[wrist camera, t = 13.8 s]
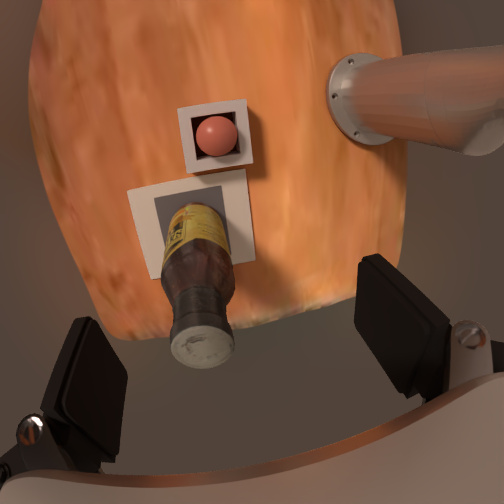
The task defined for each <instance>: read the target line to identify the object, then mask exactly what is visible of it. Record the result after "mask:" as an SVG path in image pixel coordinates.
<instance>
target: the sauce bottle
mask: <svg viewBox="0 0 504 504" xmlns="http://www.w3.org/2000/svg"><path fill="white" fill-rule="evenodd" d="M161 284H162V287H163V289H164V291H165V293H166V295H167V297H168V299H169V302H170V304H171V306H172V308H173V309H172V311H173V314H174V316H173V318H174V319H173V326H172V328H171V331H170V348H171V351H172V354H173V355H174V357H175V358H176V359H177V360H178V361H179V362H181V363H183V364H184V365H187V366H189V367H192V368H198V369H200V368H202V369H205V368H211V367H215V366H218V365H220V364H223V363H224V362H225V361H227V360H228V359H229V358H230V356H231V355H232V353H233V351H234V344H235V343H234V337H233V333H232V329H231V327H230V325H229V323H228V321H227V315H226V305H227V304H228V303H229V302H230V300H231V298H232V296H233V294H234V290H235V278H234V273H233V265H232V260H231V256H230V252H229V248H228V244H227V240H226V235H225V231H224V228H223V224H222V221H221V218H220V217H219V215H218V214H217V212H216V210H215V209H214V208H212V207H211V206H209V205H207V204H205V203H201V202H191V203H188V204H185V205H184V206H182V207H180V208H179V209H178V211H177V212H176V213H175V215H174V216H173V218H172V220H171V222H170V225H169V230H168V235H167V240H166V246H165V251H164V258H163V264H162V270H161Z"/></svg>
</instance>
